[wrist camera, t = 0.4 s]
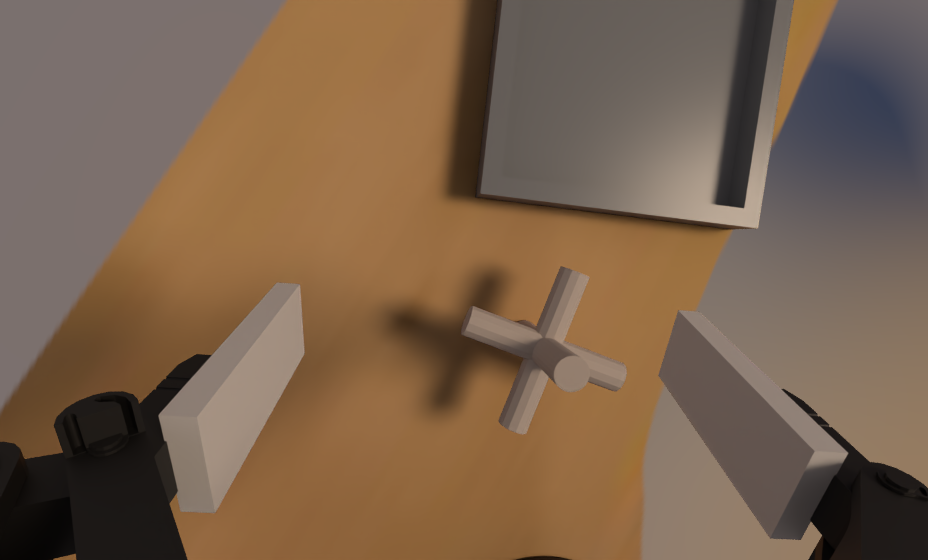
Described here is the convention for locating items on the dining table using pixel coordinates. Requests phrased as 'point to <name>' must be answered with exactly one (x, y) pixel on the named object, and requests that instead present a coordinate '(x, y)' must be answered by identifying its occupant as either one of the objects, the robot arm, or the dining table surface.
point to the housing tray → (634, 106)
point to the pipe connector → (544, 351)
